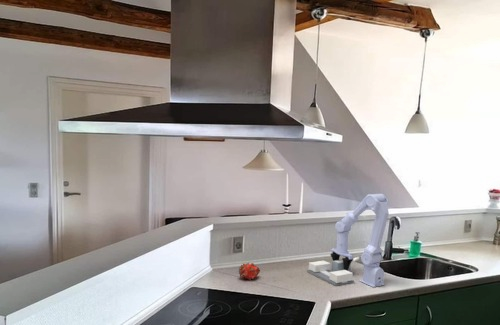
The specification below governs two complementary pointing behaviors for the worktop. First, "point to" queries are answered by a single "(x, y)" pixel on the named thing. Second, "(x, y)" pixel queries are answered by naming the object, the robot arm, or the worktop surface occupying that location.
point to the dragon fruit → (249, 271)
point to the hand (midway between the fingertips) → (340, 269)
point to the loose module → (338, 265)
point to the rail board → (330, 273)
